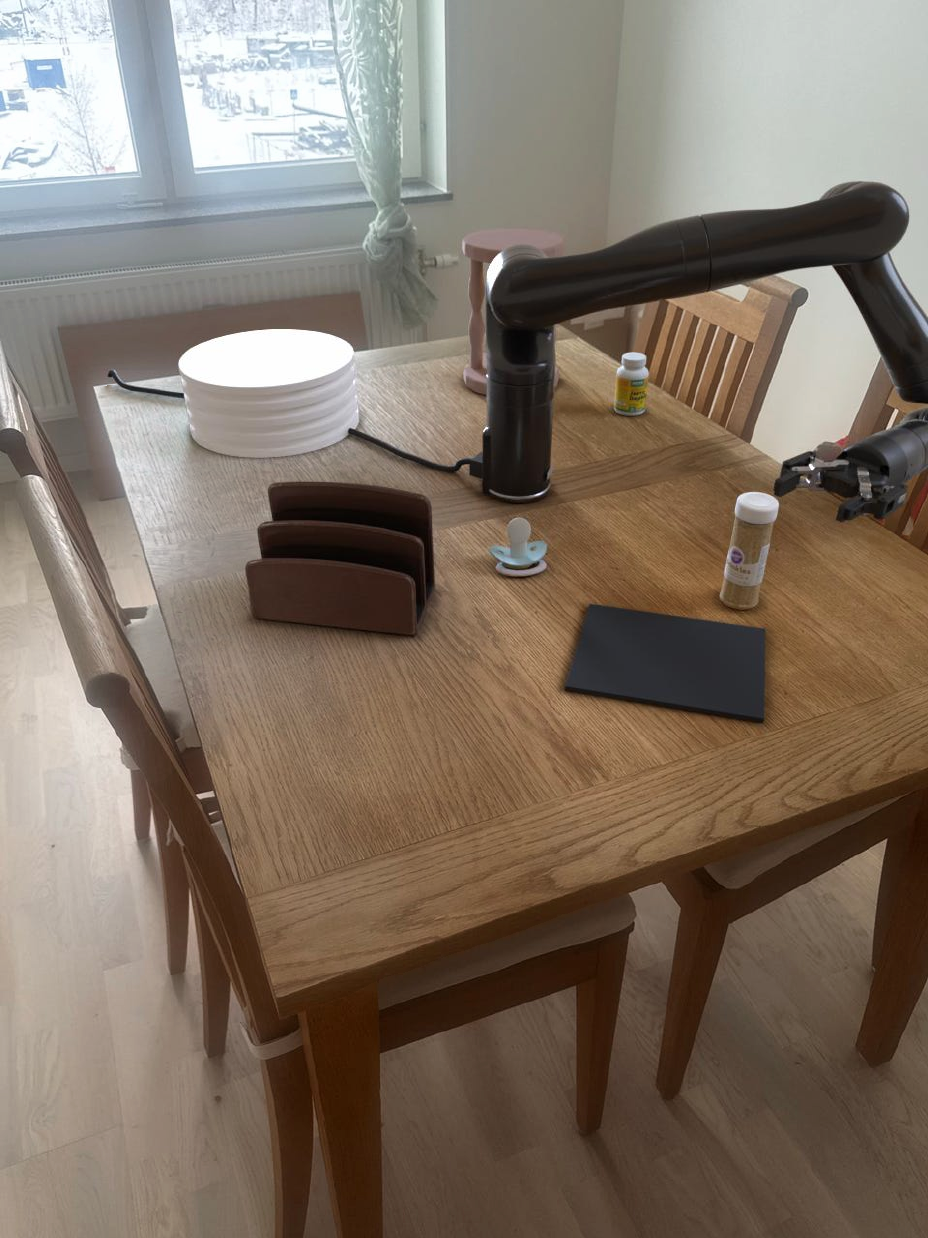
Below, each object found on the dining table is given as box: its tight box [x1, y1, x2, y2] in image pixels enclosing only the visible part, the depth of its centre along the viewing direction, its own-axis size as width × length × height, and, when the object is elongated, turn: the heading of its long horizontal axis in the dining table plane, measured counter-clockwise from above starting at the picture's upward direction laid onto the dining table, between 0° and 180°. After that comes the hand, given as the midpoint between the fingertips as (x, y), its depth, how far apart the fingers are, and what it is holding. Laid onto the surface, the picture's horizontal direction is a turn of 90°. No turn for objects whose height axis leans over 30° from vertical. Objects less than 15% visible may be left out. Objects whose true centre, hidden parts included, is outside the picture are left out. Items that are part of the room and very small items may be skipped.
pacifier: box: [488, 517, 548, 577], centre depth 115 cm, size 7×6×6 cm
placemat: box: [564, 603, 766, 724], centre depth 100 cm, size 20×16×1 cm
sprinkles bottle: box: [719, 491, 780, 611], centre depth 106 cm, size 5×5×14 cm
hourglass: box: [461, 227, 567, 396], centre depth 163 cm, size 18×18×25 cm
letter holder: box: [244, 480, 436, 637], centre depth 105 cm, size 10×20×14 cm, turn 79°
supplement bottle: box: [613, 351, 650, 417], centre depth 156 cm, size 5×5×10 cm
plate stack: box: [177, 328, 360, 459], centre depth 152 cm, size 28×28×12 cm
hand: (807, 501), depth 109 cm, fingers open, 8 cm apart
